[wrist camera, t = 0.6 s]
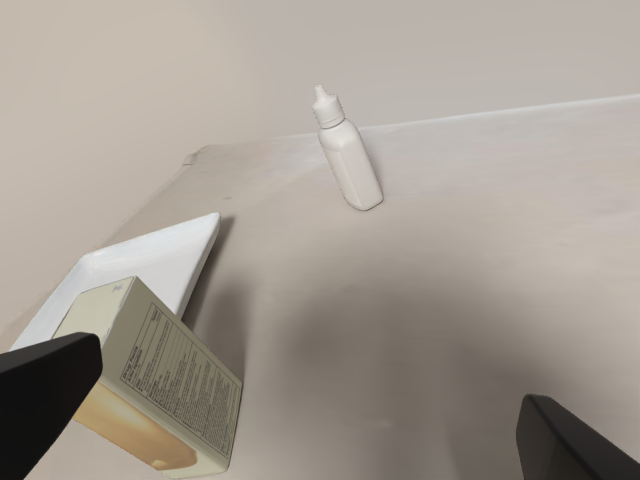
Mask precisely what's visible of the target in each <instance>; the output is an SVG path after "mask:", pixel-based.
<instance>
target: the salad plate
mask: <svg viewBox="0 0 640 480" xmlns="http://www.w3.org/2000/svg"><path fill="white" fill-rule="evenodd" d="M220 222H221V213H220V212H214V213H211V214H208V215H205V216H202V217H198V218H195V219H192V220H189V221H186V222H182V223H179V224H176V225H173V226H170V227H167V228H163V229H160V230H157V231H154V232H151V233H148V234H145V235H142V236H139V237H136V238H133V239H130V240H127V241H124V242H120V243H117V244H114V245H111V246H108V247H105V248H102V249H99V250H96V251H93V252H90V253H88V254H85V255H84V256H82V257H81V258H80V259H79V260H78V262H77V263H76V264H75V265H74V267H73V268H72V269H71V270H70V271H69V273H68V274H67V275H66V277H65V278H64V279H63V280H62V282H61V283H60V284H59V285H58V287H57V288H56V289H55V290H54V292H53V293H52V294H51V295H50V297H49V298H48V299H47V300H46V302H45V303H44V304H43V306H42V307H41V308H40V310H39V311H38V312H37V313H36V315H35V316H34V317H33V319H32V320H31V321H30V323H29V324H28V325H27V327H26V328H25V330H24V331H23V332H22V334H21V335H20V336H19V338H18V339H17V340H16V341H15V343H14V344H13V346H12V347H11V348H10V350H9V351H8V352H10V351H13V350H16V349H20V348H23V347H27V346H30V345H34V344H37V343H41V342H44V341H48V340H50V338H51V336H52V334H53V333H54V331H55V330H56V328H57V326H58V325H59V323H60V321H61V320H62V318H63V317H64V315H65V313H66V312H67V310H68V309H69V307H70V305H71V304H72V302H73V301H74V299H75V298H76V296H77V295H78V294H79V293H80V292H84V291H86V290H89V289H92V288H95V287H98V286H101V285H104V284H108V283H111V282H114V281H117V280H121V279H124V278H127V277H130V276H133V275H136V276H137V277H138V278H139V279H140V280H141V281H142V282H143V283H144V284H145V285H146V286H147V287H148V288H149V289H150V290H151V291H152V292H153V293H154V294H155V295H156V296H157V297H158V298H159V299H160V300H161V301H162V302H163V303H164V304H165V305H166V306H167V307H168V308H169V309H170V310H171V311H172V312H173V313H174V314H175V315H176V316H177V317H178V318H179V319H180V320H181V319H182V316H183V314H184V311H185V309H186V306H187V304H188V301H189V299H190V296H191V294H192V292H193V289H194V287H195V285H196V282H197V280H198V278H199V275H200V273H201V271H202V269H203V266H204V264H205V262H206V260H207V257H208V255H209V253H210V251H211V249H212V247H213V245H214V242H215V240H216V237H217V234H218V232H219V228H220Z"/></svg>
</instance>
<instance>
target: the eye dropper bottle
mask: <svg viewBox="0 0 640 480" xmlns="http://www.w3.org/2000/svg"><path fill="white" fill-rule="evenodd" d="M315 93H316V98H317V99H316V101H315V102H314V103H313V105H312V109H313V111H314V114H315V116H316V119H317V121H318V123H319V125H320V128H319V131H318V138H319V141H320V144H321V146H322V148H323V150H324V153H325V155H326V157H327V159H328V162H329V164H330V166H331V169H332V171H333V173H334V175H335V178H336V180H337V182H338V184H339V187H340V189H341V191H342V193H343V196H344V198H345V199H346V201H347V202H348V204H349V205H351V206H352V207H354V208H356V209H359V210H363V211H365V210H368V209H370V208H372V207H374V206H375V205H377V204H379V203H380V202H381V201H382V200H383V195H382V191H381V189H380V186H379V183H378V181H377V178H376V175H375V172H374V170H373V167H372V164H371V162H370V159H369V156H368V154H367V151H366V148H365V146H364V143H363V141H362V138H361V135H360V133H359V131H358V129H357V127H356V126H355V125H354V123H352V122H351V121H350V120H349V119H347V118H345V114H344V112H343V109H342V107H341V104H340V101H339V99H338V96H337V95H335V94H328V93H327V92H326V90H325V89H324V87H323V85H322V84H320V85H317V86H315Z"/></svg>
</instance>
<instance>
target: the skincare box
mask: <svg viewBox="0 0 640 480" xmlns="http://www.w3.org/2000/svg"><path fill="white" fill-rule="evenodd" d="M75 332H87V333H94V334H96V335H97V336H98V337H99V339H100V344H101V352H102V360H103V371H102V374H101V376H100V378H99V380H98V381H97V382H96V384H95V385H94V387H93V388H92V390H91V391H90V393H89V394H88V395H87V397H86V398H85V400H84V401H83V403H82V404H81V406H80V407H79V408H78V410H77V411H76V413H75V414H74V416H73V417H72V418H73V419H74V420H76V421H78V422H79V423H81V424H83V425H84V426H86V427H88V428H89V429H91V430H93V431H94V432H96V433H98V434H99V435H101V436H102V437H104V438H106V439H107V440H109V441H110V442H112V443H114V444H115V445H117V446H119V447H120V448H122V449H124V450H125V451H127V452H129V453H130V454H132V455H134V456H135V457H137V458H138V459H140V460H142V461H143V462H145V463H147V464H148V465H150V466H151V467H153V468H155V469H156V470H158V471H160V472H161V473H163V474H165V475H166V476H168V477H169V478H171V479H176V478H185V477H194V476H202V475H208V474H215V473H221V472H225V471H226V470H227V468H228V465H229V460H230V455H231V449H232V444H233V439H234V433H235V427H236V421H237V415H238V409H239V402H240V395H241V388H242V382H241V381H240V380H239V379H238V378H237V377H236V376H235V375H234V374H233V373H232V372H231V371H230V370H229V369H228V368H227V367H226V366H225V365H224V364H223V363H222V362H221V361H220V360H219V359H218V358H217V357H216V356H215V355H214V354H213V353H212V352H211V351H210V350H209V349H208V348H207V347H206V345H205V344H204V343H203V342H202V341H201V340H200V339H199V338H198V337H196V335H195V334H194V333H193V332H192V331H191V330H190V329H189V328H188V327H187V326H186V325H185V324H184V323H183V322H182V321H181V320H180V319H179V318H178V317H177V316H176V315H175V314H174V313H173V312H172V311H171V310H170V309H169V308H168V307H167V306H166V305H165V304H164V303H163V302H162V301H161V300H160V299H159V298H158V297H157V296H156V295H155V294H154V293H153V292H152V291H151V290H150V289H149V288H148V287H147V286H146V285H145V284H144V283H143V282H142V281H141V280H140V279H139V278H138V277H137V276H136V275H133V276H130V277H127V278H124V279H121V280H117V281H114V282H111V283H108V284H104V285H101V286H98V287H95V288H92V289H89V290H86V291H84V292H80V293H79V294H78V295H77V296H76V298H75V299H74V301H73V302H72V304H71V305H70V307H69V309H68V310H67V312H66V313H65V315H64V317H63V318H62V320H61V321H60V323H59V325H58V326H57V328H56V330H55V331H54V333H53V334H52V336H51V338H50V340H51V339H54V338H58V337H61V336H65V335H68V334H72V333H75Z"/></svg>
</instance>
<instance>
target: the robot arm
mask: <svg viewBox="0 0 640 480" xmlns="http://www.w3.org/2000/svg"><path fill="white" fill-rule="evenodd" d="M102 371H103V360H102V352H101V344H100V339H99V337H98V336H97V335H96V334H94V333H87V332H75V333H72V334H68V335H65V336H61V337H58V338H54V339H51V340H48V341H44V342H41V343H37V344H34V345H30V346H27V347H23V348H20V349H16V350H13V351H10V352H6V353H3V354H0V480H24V478H25V477H26V476H27V475H28V474H29V472H30V471H31V470H32V469H33V468H34V466H35V465H36V464H37V463H38V462H39V460H40V459H41V458H42V457H43V456H44V454H45V453H46V452H47V451H48V450H49V448H50V447H51V446H52V445H53V443H54V442H55V441H56V440H57V438H58V437H59V436H60V434H61V433H62V431H63V430H64V429H65V427H66V426H67V424H68V423H69V421H70V420H71V419H72V417H73V416H74V414H75V413H76V411H77V410H78V408H79V407H80V406H81V404H82V403H83V401H84V400H85V398H86V397H87V395H88V394H89V393H90V391H91V390H92V388H93V387H94V385H95V384H96V382H97V381H98V380H99V378H100V376H101V374H102ZM516 441H517V447H518V451H519V456H520V461H521V466H522V471H523V476H524V480H640V464H639V463H638V462H637V461H635V460H634V459H633V458H631V457H630V456H629V455H627V454H626V453H625V452H623V451H622V450H621V449H619V448H618V447H617V446H615V445H614V444H613V443H611V442H610V441H608V440H607V439H606V438H604V437H603V436H602V435H600V434H599V433H598V432H596V431H595V430H594V429H592V428H591V427H590V426H588V425H587V424H586V423H584V422H583V421H582V420H580V419H579V418H578V417H576V416H575V415H574V414H572V413H571V412H570V411H568V410H567V409H565V408H564V407H563V406H561V405H560V404H559V403H557V402H556V401H555V400H553V399H552V398H551V397H548V396H544V395H536V394H527V395H525V397H524V398H523V401H522V406H521V410H520V414H519V419H518V423H517V428H516Z"/></svg>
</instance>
